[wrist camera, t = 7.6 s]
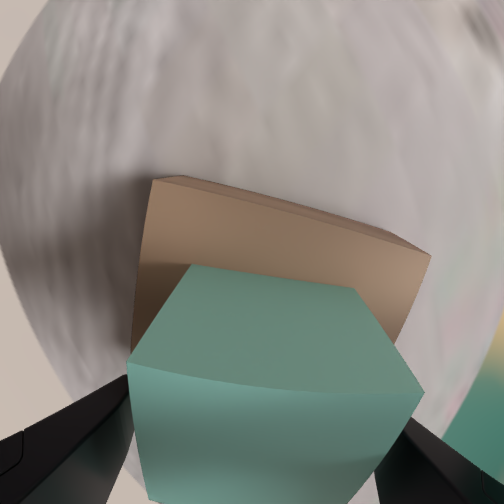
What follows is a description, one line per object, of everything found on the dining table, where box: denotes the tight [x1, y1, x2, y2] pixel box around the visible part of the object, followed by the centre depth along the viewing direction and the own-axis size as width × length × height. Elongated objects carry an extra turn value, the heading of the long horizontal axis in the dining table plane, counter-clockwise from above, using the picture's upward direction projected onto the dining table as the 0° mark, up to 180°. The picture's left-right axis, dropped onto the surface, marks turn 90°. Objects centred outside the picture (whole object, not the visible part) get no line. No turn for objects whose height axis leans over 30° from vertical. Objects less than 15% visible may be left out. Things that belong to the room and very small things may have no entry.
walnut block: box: [131, 175, 432, 354], centre depth 12 cm, size 9×9×4 cm
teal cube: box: [126, 264, 425, 504], centre depth 7 cm, size 5×5×5 cm
